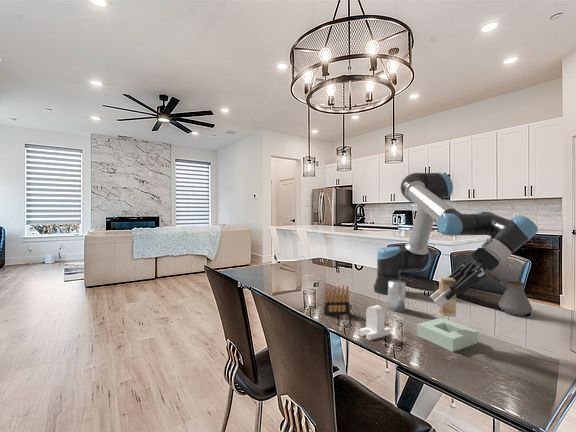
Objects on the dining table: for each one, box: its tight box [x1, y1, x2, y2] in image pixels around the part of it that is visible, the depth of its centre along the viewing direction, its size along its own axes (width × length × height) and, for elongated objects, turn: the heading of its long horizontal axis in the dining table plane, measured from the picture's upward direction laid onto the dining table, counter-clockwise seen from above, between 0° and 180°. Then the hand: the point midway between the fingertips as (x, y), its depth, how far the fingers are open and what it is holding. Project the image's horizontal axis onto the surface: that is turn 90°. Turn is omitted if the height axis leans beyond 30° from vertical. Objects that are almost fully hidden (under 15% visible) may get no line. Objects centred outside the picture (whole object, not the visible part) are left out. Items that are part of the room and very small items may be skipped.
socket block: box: [416, 317, 479, 353], centre depth 98 cm, size 13×13×4 cm
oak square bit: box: [438, 277, 457, 318], centre depth 98 cm, size 4×4×12 cm
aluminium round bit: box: [387, 280, 406, 313], centre depth 128 cm, size 7×7×12 cm
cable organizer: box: [358, 304, 391, 341], centre depth 102 cm, size 5×10×10 cm, turn 119°
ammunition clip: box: [323, 284, 351, 316], centre depth 122 cm, size 11×2×12 cm, turn 93°
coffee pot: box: [484, 269, 533, 317], centre depth 128 cm, size 21×12×15 cm, turn 11°
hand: (435, 301), depth 99 cm, fingers closed on oak square bit, 4 cm apart
